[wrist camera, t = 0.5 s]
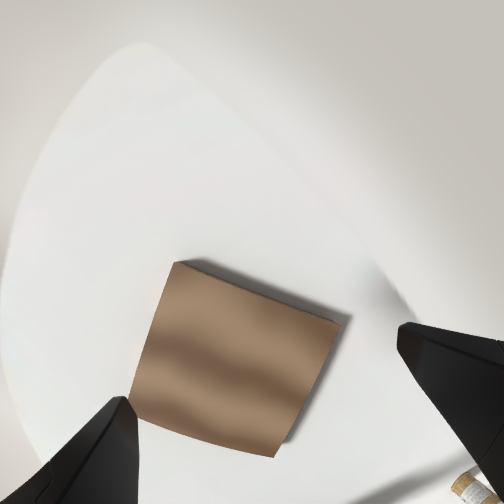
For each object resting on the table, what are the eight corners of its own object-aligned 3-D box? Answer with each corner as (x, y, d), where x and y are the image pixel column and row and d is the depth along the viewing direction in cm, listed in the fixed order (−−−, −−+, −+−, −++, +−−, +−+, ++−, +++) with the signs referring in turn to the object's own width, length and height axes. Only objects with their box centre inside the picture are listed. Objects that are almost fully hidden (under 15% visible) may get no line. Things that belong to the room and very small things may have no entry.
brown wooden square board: (269, 446, 24) (273, 457, 22) (130, 401, 22) (124, 411, 20) (331, 320, 24) (340, 325, 22) (177, 261, 23) (173, 262, 21)
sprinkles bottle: (467, 479, 28) (506, 510, 14) (449, 493, 27) (487, 528, 14) (469, 467, 27) (512, 499, 14) (450, 483, 27) (492, 519, 14)
